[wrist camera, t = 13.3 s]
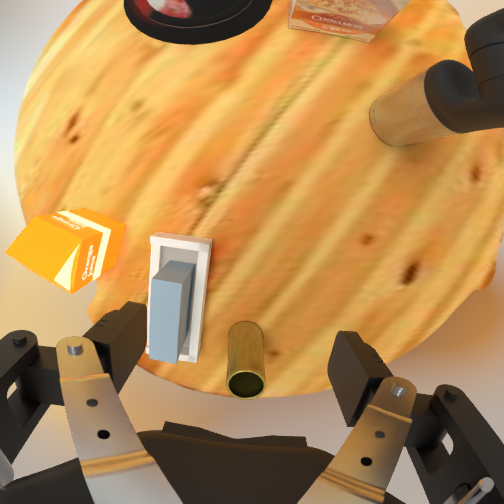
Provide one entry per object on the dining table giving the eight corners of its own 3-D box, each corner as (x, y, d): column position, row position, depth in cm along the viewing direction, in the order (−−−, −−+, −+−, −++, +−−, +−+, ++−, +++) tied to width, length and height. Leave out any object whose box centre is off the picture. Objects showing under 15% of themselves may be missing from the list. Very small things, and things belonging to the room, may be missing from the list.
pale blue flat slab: (195, 263, 46) (182, 283, 36) (188, 331, 48) (176, 363, 38) (168, 259, 46) (149, 278, 36) (164, 327, 48) (147, 357, 38)
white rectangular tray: (212, 239, 47) (209, 244, 42) (200, 349, 51) (196, 362, 46) (159, 231, 46) (150, 235, 42) (152, 340, 50) (145, 353, 46)
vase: (238, 314, 49) (236, 360, 36) (269, 330, 50) (278, 378, 36) (222, 342, 51) (215, 392, 37) (252, 356, 51) (255, 408, 37)
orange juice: (114, 266, 47) (50, 310, 28) (74, 248, 46) (2, 280, 27) (126, 223, 46) (59, 248, 26) (84, 206, 45) (7, 221, 25)
